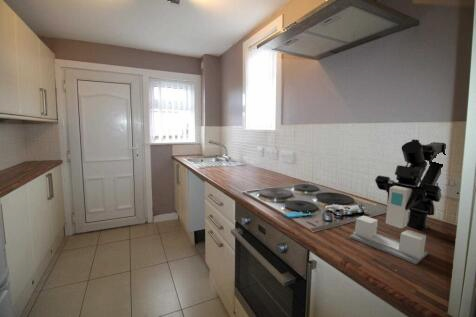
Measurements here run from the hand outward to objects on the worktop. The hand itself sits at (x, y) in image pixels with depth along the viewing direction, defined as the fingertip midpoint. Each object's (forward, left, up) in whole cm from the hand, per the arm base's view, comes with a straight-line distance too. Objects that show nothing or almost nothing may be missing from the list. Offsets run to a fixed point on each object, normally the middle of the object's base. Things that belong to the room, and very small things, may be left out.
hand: (396, 206), depth 81 cm
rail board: (+5, +1, -12) cm, 13 cm away
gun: (-10, -26, -13) cm, 31 cm away
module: (-1, 0, -7) cm, 7 cm away
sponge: (+14, -33, -13) cm, 38 cm away
